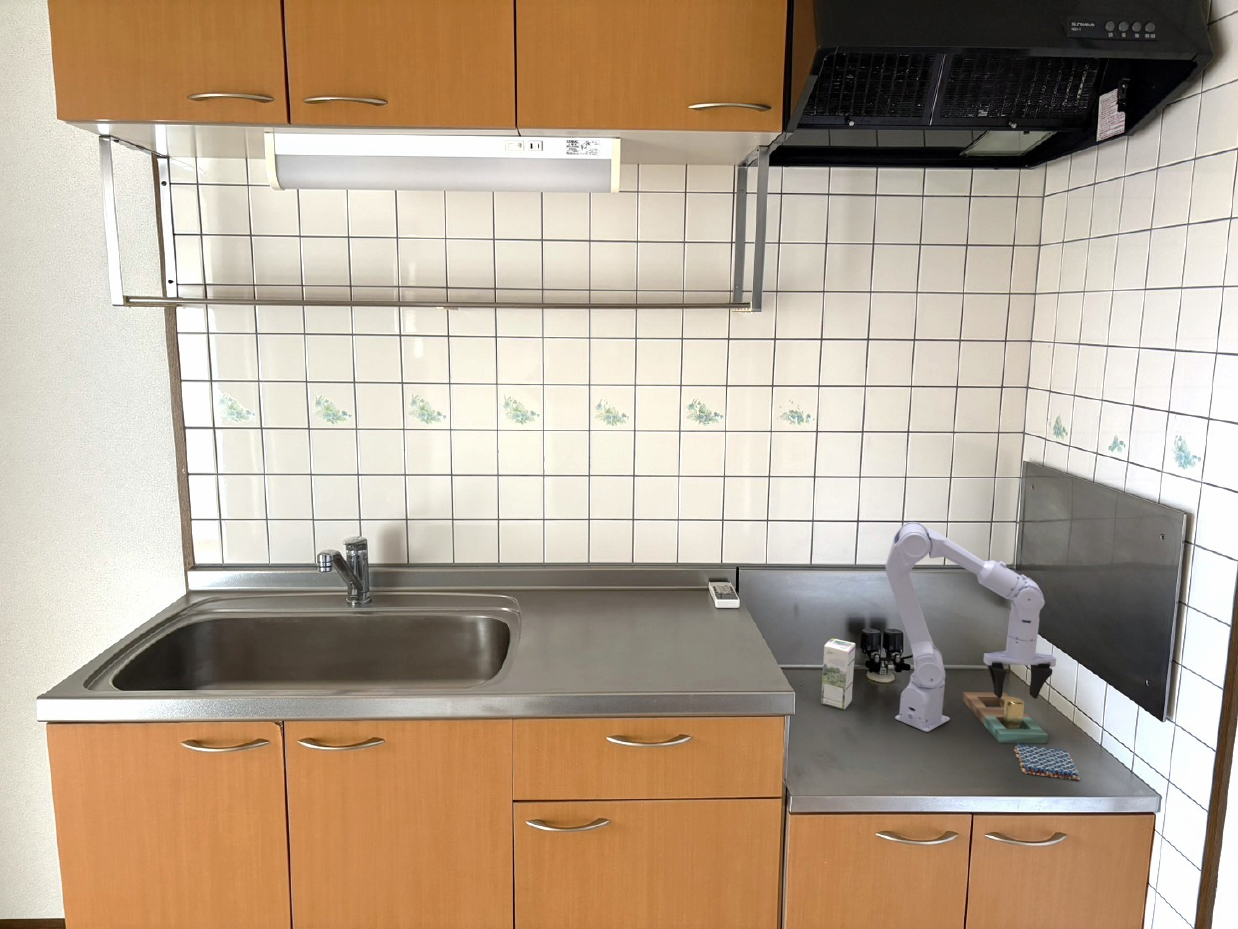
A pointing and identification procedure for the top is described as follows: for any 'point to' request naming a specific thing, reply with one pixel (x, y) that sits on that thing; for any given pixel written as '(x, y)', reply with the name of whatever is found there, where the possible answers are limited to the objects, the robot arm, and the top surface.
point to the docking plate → (994, 719)
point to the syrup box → (837, 673)
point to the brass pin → (1013, 713)
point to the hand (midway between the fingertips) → (1015, 696)
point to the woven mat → (1046, 762)
